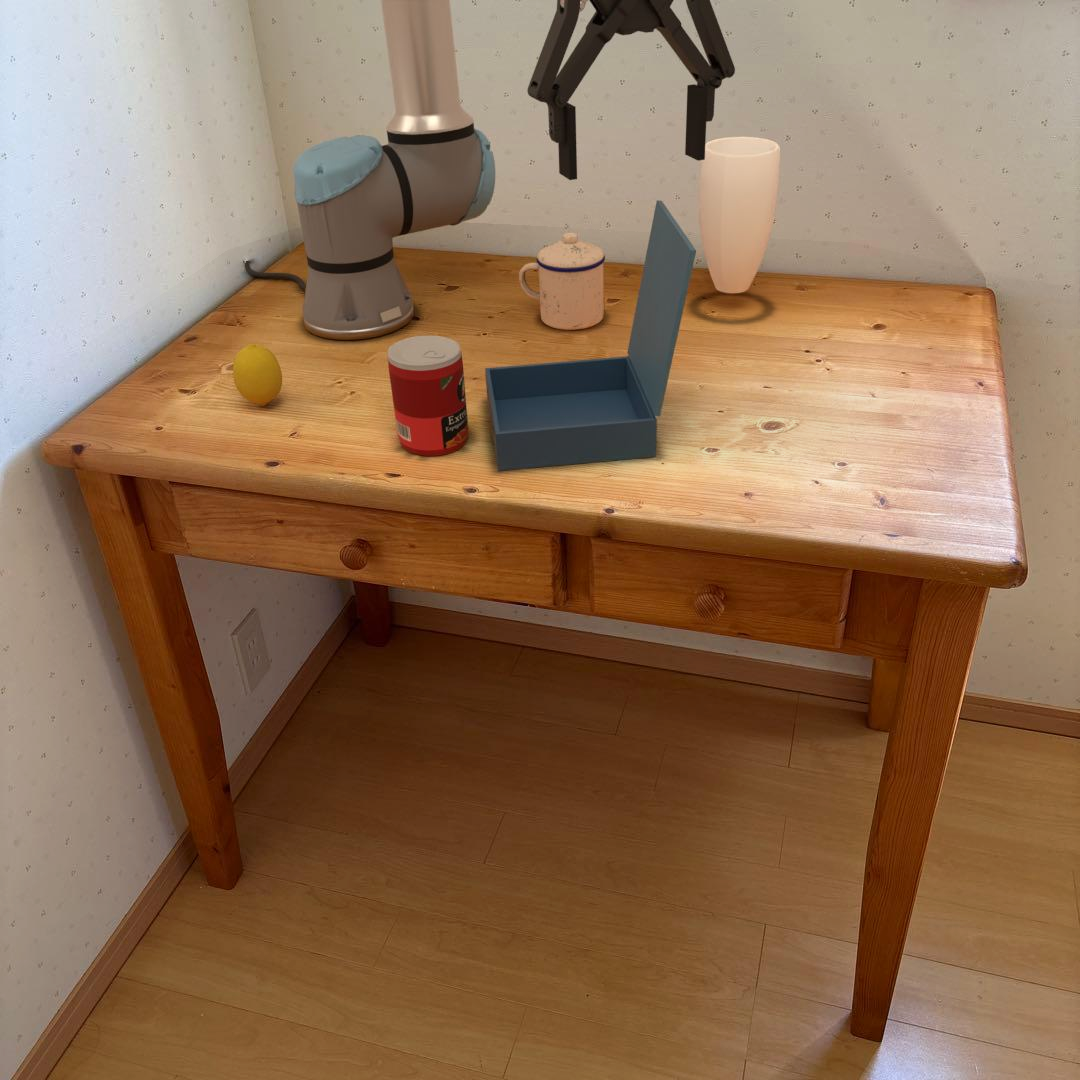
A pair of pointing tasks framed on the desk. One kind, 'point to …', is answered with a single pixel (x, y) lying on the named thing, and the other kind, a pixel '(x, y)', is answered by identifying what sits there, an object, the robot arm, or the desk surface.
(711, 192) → the cup
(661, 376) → the lunchbox lid
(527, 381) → the box
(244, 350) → the lemon
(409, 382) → the canned food
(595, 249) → the teacup with lid
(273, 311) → the desk surface
